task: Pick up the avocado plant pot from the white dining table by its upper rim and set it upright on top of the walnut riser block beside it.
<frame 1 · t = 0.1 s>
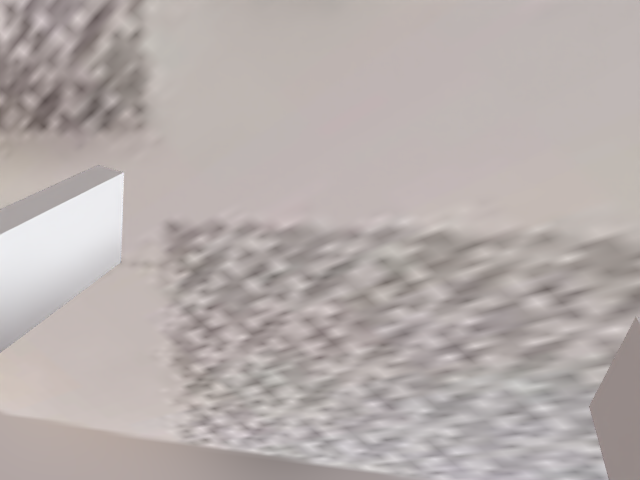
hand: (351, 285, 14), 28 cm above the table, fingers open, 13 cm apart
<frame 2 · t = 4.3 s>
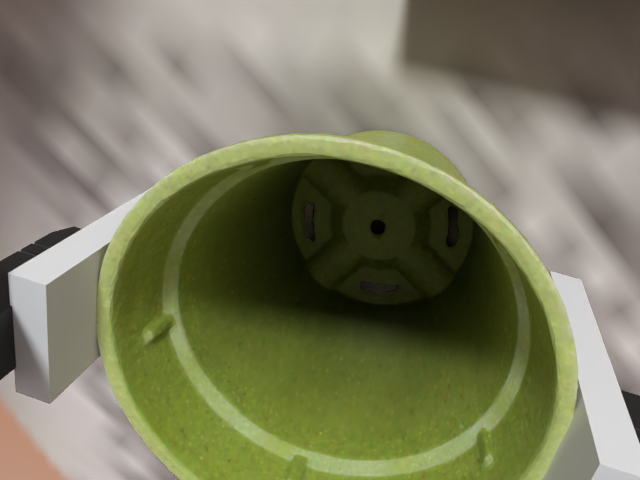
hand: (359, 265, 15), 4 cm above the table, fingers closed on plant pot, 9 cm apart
plant pot: (381, 216, 19), on the table, touching gripper
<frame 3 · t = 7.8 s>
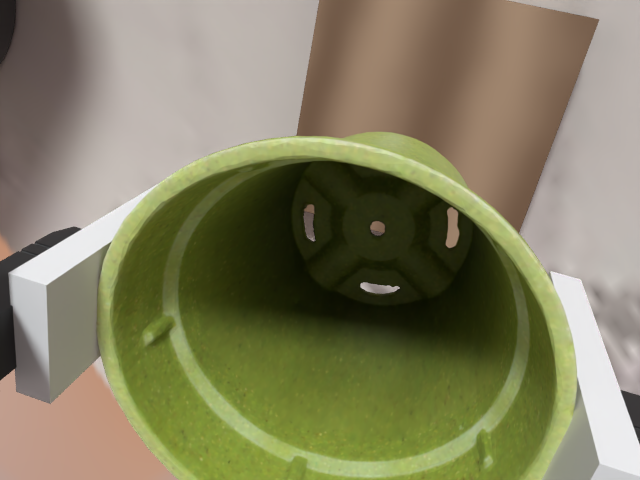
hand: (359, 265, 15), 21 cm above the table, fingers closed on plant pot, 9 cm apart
plant pot: (381, 217, 19), point 18 cm above the table, touching gripper
walnut riser: (425, 114, 34), on the table
when the fingers open (7 cm above the table, at t = 11.5 s): plant pot stays where it is, resting on walnut riser.
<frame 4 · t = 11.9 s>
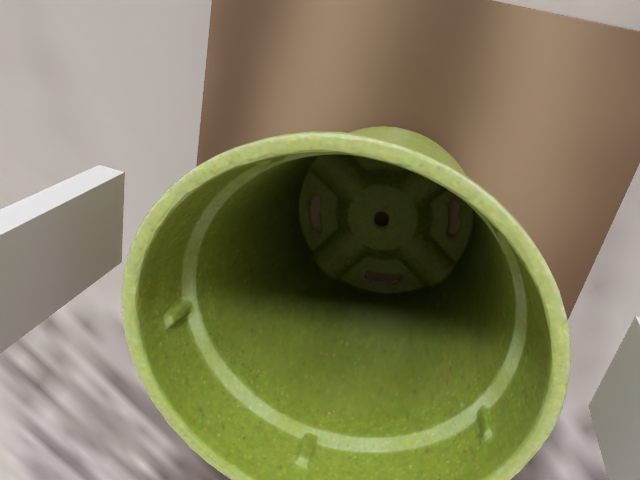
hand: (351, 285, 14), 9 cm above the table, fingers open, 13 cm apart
plant pot: (384, 208, 20), point 3 cm above the table, touching walnut riser
walnut riser: (395, 183, 22), on the table
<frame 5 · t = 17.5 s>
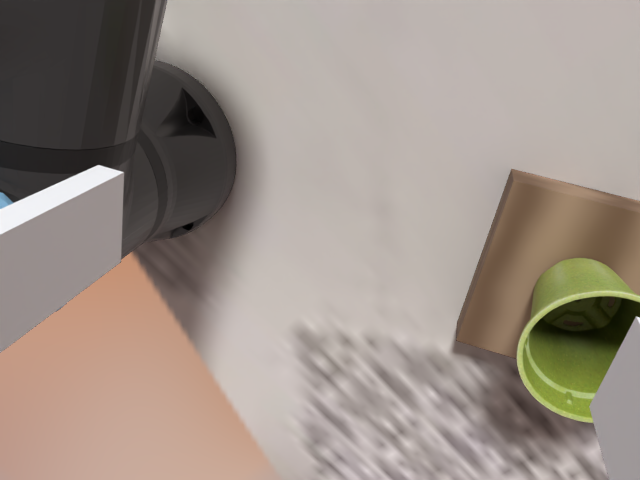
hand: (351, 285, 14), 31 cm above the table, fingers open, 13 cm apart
plant pot: (576, 291, 42), point 3 cm above the table, touching walnut riser
walnut riser: (571, 274, 44), on the table
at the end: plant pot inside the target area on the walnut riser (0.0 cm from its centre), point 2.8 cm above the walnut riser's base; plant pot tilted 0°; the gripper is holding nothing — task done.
